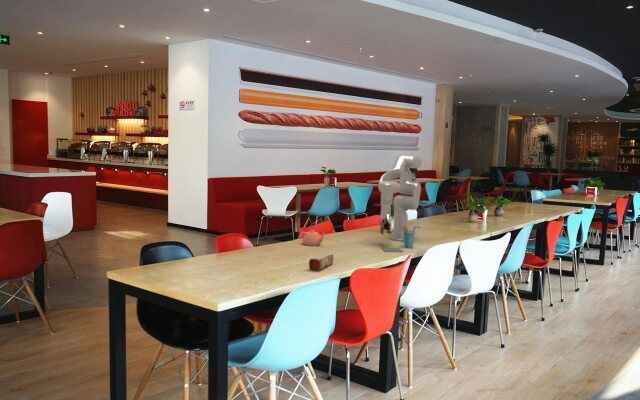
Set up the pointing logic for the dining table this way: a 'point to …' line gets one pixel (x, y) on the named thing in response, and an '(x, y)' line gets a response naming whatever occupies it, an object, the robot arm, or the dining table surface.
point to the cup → (408, 236)
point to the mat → (391, 249)
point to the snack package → (321, 261)
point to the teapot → (312, 238)
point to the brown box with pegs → (383, 228)
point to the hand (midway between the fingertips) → (385, 228)
